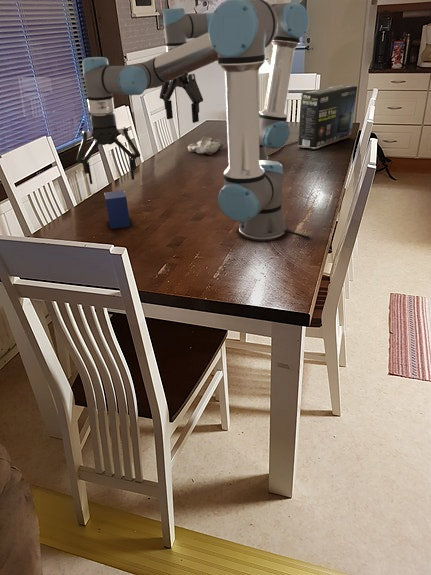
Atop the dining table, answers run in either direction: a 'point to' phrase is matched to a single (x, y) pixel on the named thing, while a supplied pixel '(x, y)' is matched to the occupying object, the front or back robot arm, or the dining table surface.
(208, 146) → the fossil
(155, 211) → the dining table surface
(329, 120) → the router box
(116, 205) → the block
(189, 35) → the back robot arm
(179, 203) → the dining table surface
